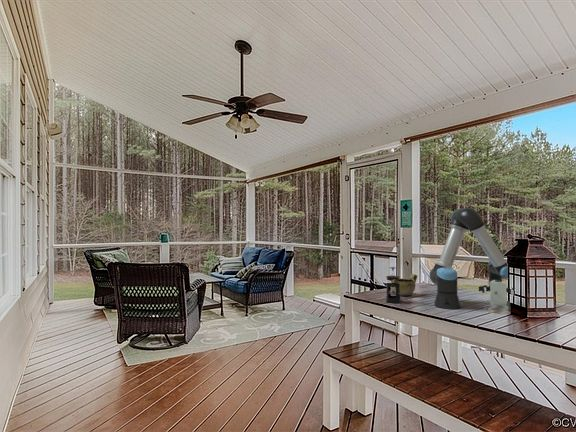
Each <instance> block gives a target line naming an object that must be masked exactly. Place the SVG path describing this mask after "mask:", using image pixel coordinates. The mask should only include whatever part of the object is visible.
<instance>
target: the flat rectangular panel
mask: <svg viewBox="0 0 576 432" xmlns="http://www.w3.org/2000/svg"><path fill="white" fill-rule="evenodd" d="M506 288H507V282H505V281H504V282H503V281H502V282H490V291H489V292H490V303H491V305H503V306H507V301H508V300H507V298H508V297H507V293H508V292H506Z"/></svg>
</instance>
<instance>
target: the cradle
mask: <svg viewBox="0 0 576 432" xmlns="http://www.w3.org/2000/svg"><path fill="white" fill-rule="evenodd" d="M487 312H488V313H491V314H503V315H510V314H511V302H510V301H509V300H507V306H503V305H491V302H489V307H487Z"/></svg>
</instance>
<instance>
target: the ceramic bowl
mask: <svg viewBox="0 0 576 432" xmlns="http://www.w3.org/2000/svg"><path fill="white" fill-rule="evenodd" d="M389 276H395V274H390V275H389ZM417 279H418V275H417V274H414V273H412V274H410V276H409V278H399V280H398V279H393V280H391V281H390V283H398V284H400V297H402V296H403V297H408V296H410V295H412V294H413V293H414V292H415V290H416V282H417ZM391 289H392V291H393V290H394V291H396V287H391Z"/></svg>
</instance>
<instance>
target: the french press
mask: <svg viewBox="0 0 576 432" xmlns="http://www.w3.org/2000/svg"><path fill="white" fill-rule="evenodd" d="M389 269H391V271H395V269H396V266H395V267H394V266H391V267H389ZM393 279H398V280H399V279H401V276H399V275H394V276H390V275H386V280H387V281H390V282H387V283H385V286H386V299H385V303H388V304H394V305H395V304H401V302H402V301H401V295H400V284H398V283H391V280H393ZM392 287H396V291H394V290H393V289H392ZM391 289H392V290H391Z"/></svg>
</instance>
